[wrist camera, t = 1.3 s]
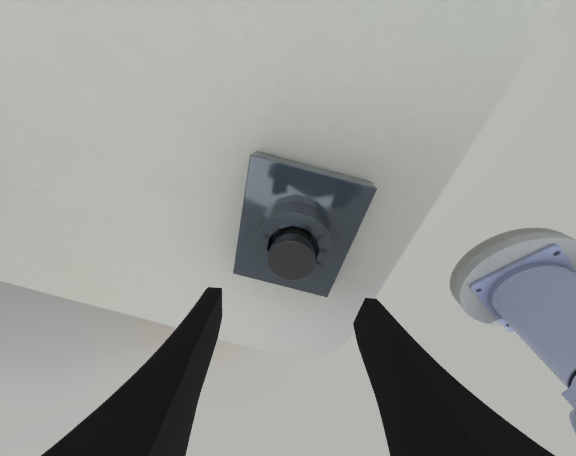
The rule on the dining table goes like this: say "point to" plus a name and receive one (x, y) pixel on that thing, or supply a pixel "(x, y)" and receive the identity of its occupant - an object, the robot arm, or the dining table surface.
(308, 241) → the dark grey push button
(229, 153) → the dining table surface
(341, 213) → the grey button housing
